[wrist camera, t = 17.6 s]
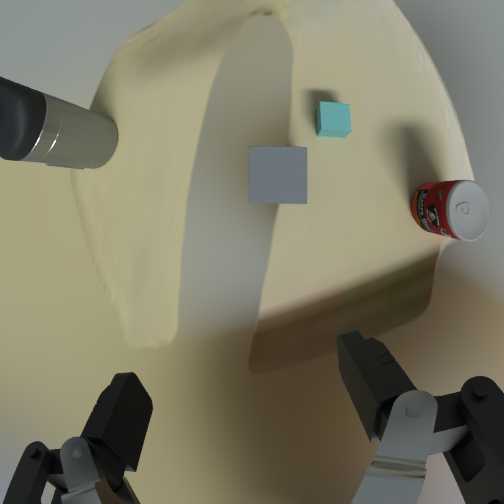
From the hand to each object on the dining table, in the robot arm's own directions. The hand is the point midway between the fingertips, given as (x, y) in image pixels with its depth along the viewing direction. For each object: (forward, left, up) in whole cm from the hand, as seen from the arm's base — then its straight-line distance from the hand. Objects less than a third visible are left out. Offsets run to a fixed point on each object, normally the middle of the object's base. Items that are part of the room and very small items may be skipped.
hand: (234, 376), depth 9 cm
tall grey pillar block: (+4, +8, -30) cm, 31 cm away
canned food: (+26, -2, -30) cm, 40 cm away
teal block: (+14, +14, -30) cm, 36 cm away
